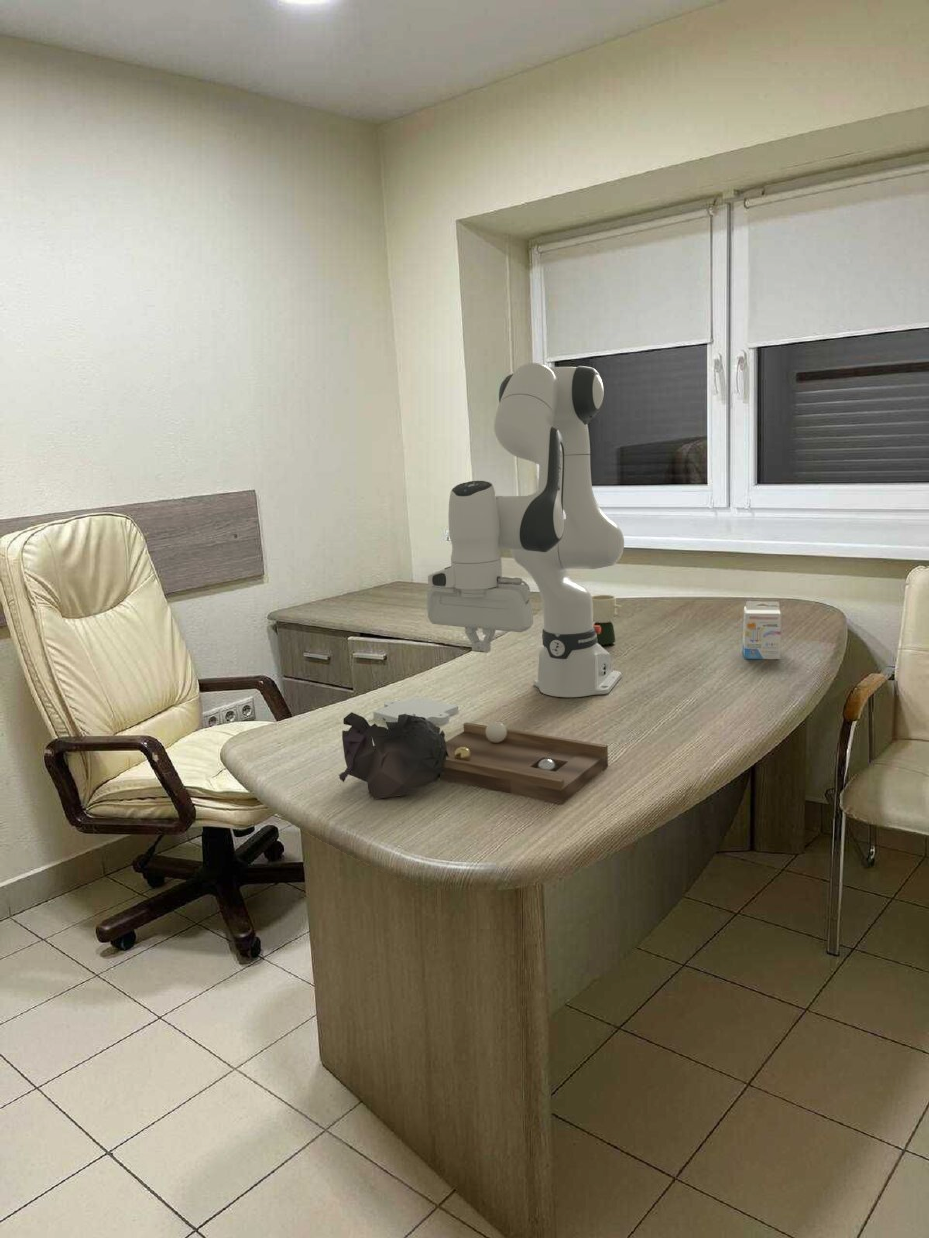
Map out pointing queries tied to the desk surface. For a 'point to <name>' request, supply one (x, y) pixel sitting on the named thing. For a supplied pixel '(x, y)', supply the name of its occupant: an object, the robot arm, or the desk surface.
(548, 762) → the steel ball
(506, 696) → the desk surface
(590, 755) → the board
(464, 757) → the brass ball
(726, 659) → the desk surface
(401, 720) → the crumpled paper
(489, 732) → the cream ball
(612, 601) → the character mug
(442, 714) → the mounting plate
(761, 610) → the ink box
